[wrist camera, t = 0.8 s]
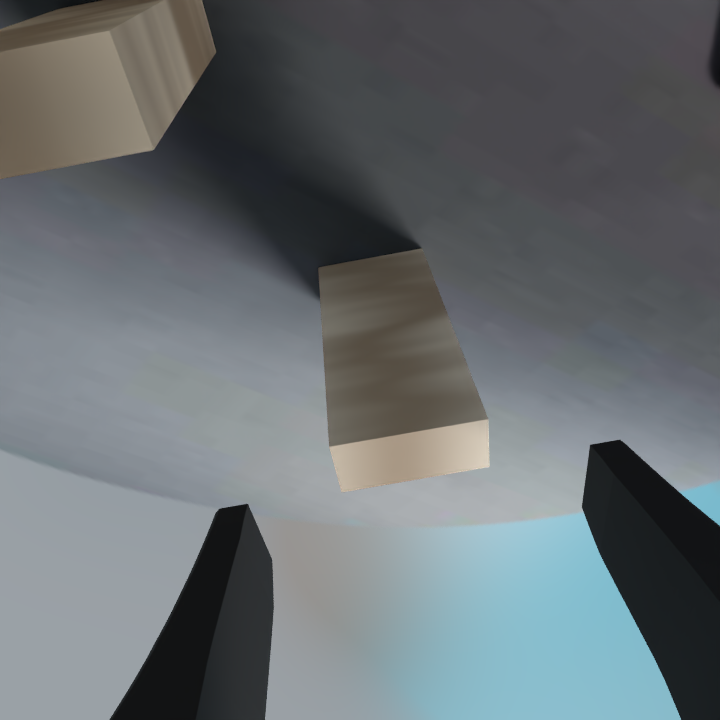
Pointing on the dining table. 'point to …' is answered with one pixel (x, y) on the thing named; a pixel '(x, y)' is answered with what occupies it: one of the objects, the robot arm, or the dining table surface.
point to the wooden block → (395, 376)
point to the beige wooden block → (97, 80)
